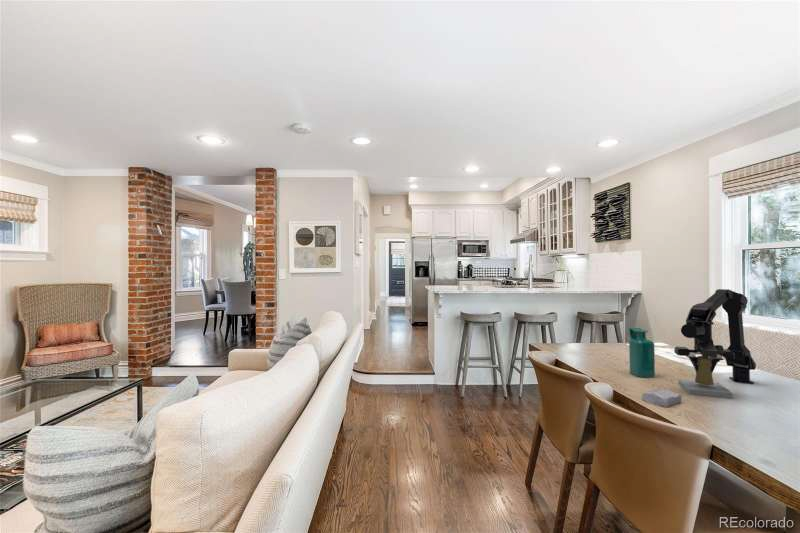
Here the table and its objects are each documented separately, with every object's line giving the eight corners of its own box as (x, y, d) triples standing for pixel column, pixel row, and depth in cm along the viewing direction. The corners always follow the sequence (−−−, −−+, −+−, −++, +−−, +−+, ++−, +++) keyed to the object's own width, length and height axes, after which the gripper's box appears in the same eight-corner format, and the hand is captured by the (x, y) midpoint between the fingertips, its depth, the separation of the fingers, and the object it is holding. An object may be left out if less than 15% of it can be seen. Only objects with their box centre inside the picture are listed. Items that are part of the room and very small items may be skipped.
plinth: (678, 383, 160) (678, 379, 160) (718, 387, 155) (718, 383, 155) (689, 394, 148) (688, 389, 148) (733, 398, 142) (732, 393, 142)
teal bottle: (657, 377, 170) (656, 330, 171) (639, 377, 171) (638, 331, 171) (643, 371, 180) (642, 327, 180) (626, 371, 180) (625, 327, 181)
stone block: (640, 405, 142) (668, 408, 133) (637, 392, 143) (665, 394, 134) (656, 400, 147) (684, 403, 139) (654, 388, 148) (681, 390, 140)
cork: (717, 385, 148) (716, 358, 148) (700, 384, 149) (699, 357, 149) (707, 380, 154) (707, 354, 154) (691, 380, 155) (691, 354, 155)
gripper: (681, 338, 148) (682, 376, 148) (740, 340, 140) (741, 381, 140) (673, 333, 158) (674, 369, 158) (728, 335, 151) (729, 373, 150)
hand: (703, 373), depth 151 cm, fingers closed on cork, 4 cm apart
